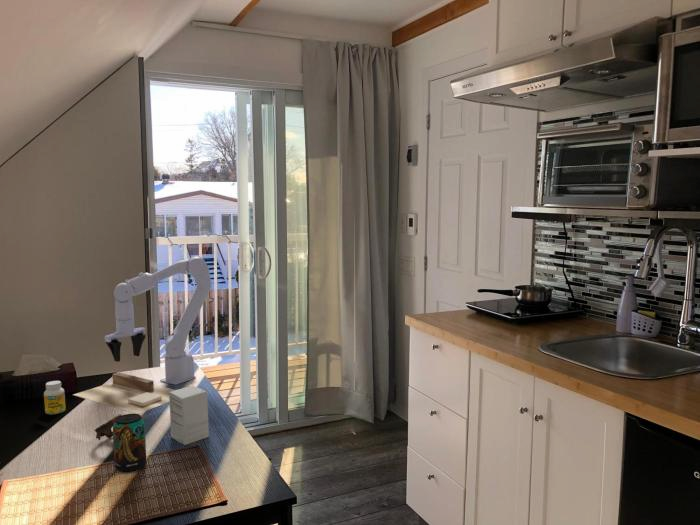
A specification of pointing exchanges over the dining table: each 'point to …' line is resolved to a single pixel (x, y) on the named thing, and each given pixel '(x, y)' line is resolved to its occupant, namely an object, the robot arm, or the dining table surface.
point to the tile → (144, 399)
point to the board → (124, 396)
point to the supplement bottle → (54, 398)
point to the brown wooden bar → (133, 382)
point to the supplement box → (189, 414)
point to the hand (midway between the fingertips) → (127, 358)
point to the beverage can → (129, 443)
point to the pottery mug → (106, 429)
